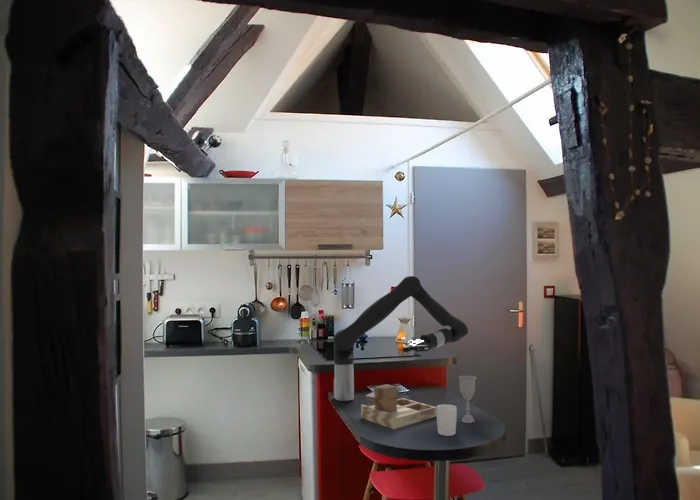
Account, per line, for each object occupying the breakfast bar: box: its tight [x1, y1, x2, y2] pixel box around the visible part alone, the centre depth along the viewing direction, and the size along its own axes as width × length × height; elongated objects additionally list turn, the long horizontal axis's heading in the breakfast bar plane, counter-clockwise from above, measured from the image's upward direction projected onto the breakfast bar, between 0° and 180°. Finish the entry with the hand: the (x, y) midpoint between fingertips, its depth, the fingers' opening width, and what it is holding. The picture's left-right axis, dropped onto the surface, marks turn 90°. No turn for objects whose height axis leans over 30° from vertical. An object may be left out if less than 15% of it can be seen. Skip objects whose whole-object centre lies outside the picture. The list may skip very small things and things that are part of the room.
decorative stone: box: [365, 391, 375, 406], centre depth 240 cm, size 15×7×10 cm
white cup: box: [435, 403, 458, 437], centre depth 204 cm, size 8×8×10 cm
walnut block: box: [373, 383, 398, 413], centre depth 221 cm, size 6×7×10 cm
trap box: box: [360, 397, 437, 430], centre depth 225 cm, size 20×25×6 cm
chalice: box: [458, 375, 477, 424], centre depth 219 cm, size 7×7×18 cm
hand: (403, 350), depth 234 cm, fingers closed
